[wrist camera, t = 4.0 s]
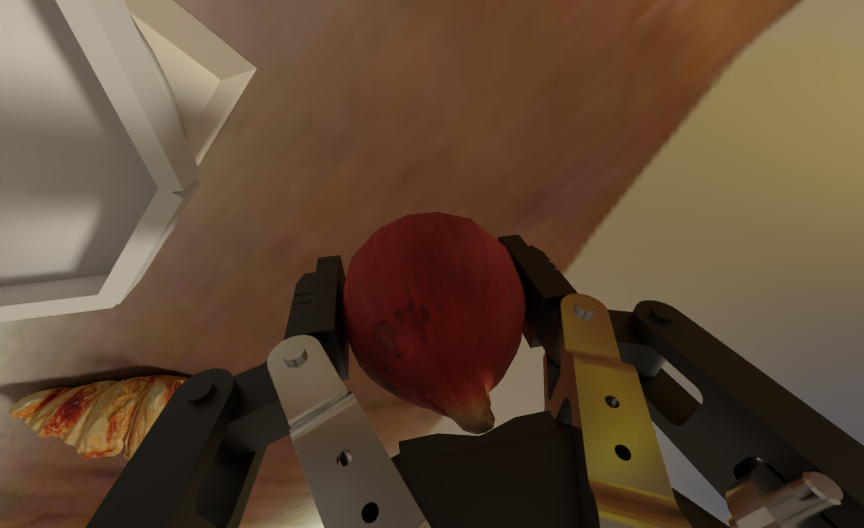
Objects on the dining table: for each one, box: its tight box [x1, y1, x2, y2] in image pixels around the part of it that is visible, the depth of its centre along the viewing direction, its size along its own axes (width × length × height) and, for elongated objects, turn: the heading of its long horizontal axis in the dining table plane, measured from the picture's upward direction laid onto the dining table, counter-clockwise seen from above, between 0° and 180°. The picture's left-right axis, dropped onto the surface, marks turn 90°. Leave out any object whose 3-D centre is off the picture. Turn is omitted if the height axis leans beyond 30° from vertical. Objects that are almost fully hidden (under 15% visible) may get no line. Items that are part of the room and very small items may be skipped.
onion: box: [340, 212, 526, 434], centre depth 10 cm, size 6×6×8 cm
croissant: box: [9, 375, 189, 460], centre depth 30 cm, size 21×10×8 cm, turn 67°
